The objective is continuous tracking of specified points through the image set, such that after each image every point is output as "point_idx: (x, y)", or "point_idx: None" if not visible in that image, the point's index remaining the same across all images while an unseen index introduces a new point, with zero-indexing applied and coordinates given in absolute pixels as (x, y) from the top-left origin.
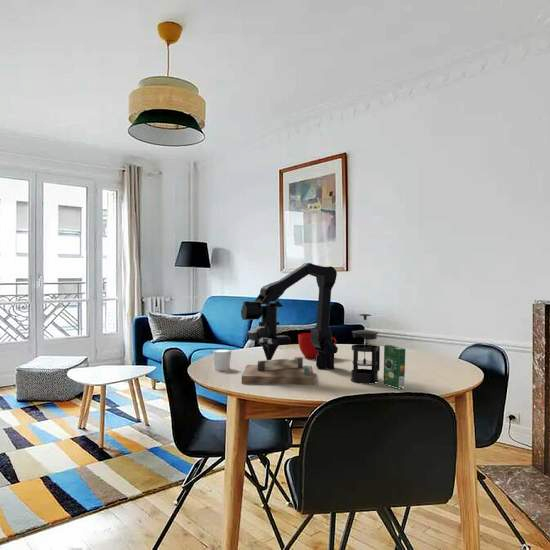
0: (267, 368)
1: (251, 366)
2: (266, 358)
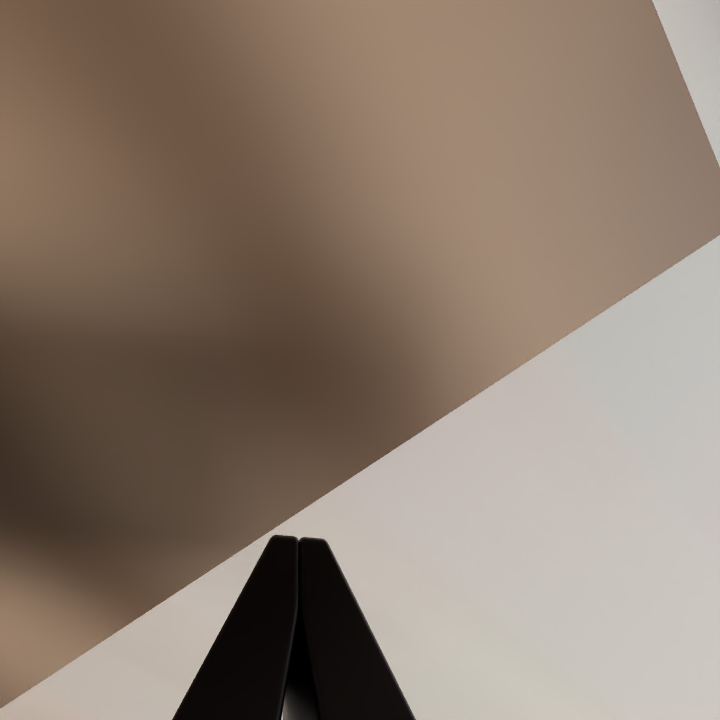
0: None
1: (516, 116)
2: (335, 584)
